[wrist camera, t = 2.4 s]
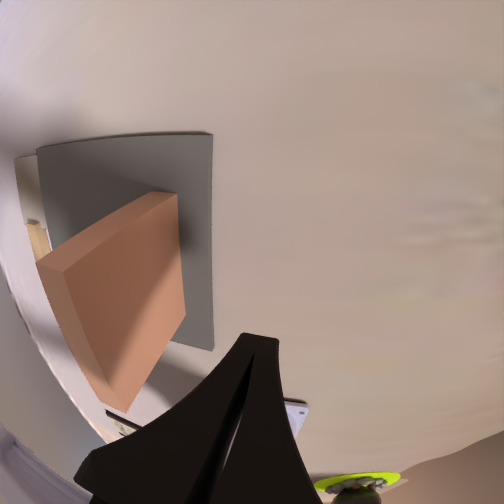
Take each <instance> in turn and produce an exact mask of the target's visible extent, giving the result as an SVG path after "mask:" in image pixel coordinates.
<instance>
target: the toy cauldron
mask: <svg viewBox="0 0 504 504" xmlns="http://www.w3.org/2000/svg"><path fill="white" fill-rule="evenodd" d="M399 479H400V474H399V473H395V472H364V473H355V474H347V475H341V476H335V477H330V478H326V479H322V480H320V481H317V482H316V483H314V488H315V489H317V490H319V491H323V492H327V493H329V494H331V493H334V494H338V493H339V494H338V495H337V496H336V497H334V499H333V501H332V502H331V504H381V498H380V496H379V494H378V493H377V492H376V491H375V490H377V489H379V488H383V487H385V486H388V485H390V484H393V483H394V482H396V481H398V480H399Z"/></svg>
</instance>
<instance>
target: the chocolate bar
mask: <svg viewBox="0 0 504 504" xmlns="http://www.w3.org/2000/svg"><path fill="white" fill-rule="evenodd" d="M105 413H106V414H107V416H108V417H109V419H110V420H111V422H112V423H113V425H114V426H115V427H116V429H117V430H118V432H119V433H120V434H121V435H123V436H127V435H129V434H131V433H133V432H134V431H136V430H138V429H140V428H142V427H141V426H139V425H137V424H134V423H132V422H130V421H128V420H126V419H124V418H122V417H120V416H118V415H116V414H114V413H112V412H110V411H108V410H107V411H106V412H105Z"/></svg>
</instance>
